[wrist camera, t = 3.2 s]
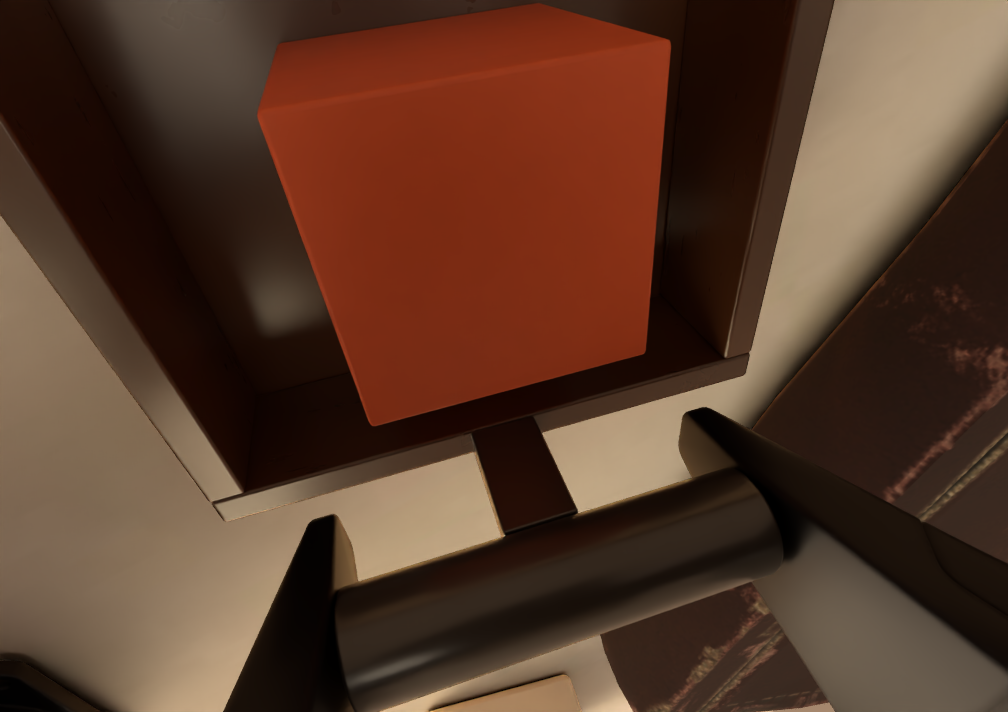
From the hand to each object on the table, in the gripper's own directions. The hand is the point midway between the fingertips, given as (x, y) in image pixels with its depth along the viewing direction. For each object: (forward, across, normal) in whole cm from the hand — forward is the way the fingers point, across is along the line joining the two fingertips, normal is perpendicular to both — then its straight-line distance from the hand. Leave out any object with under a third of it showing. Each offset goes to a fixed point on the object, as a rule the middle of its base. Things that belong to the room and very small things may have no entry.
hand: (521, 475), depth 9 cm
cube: (+4, 0, -4) cm, 6 cm away
